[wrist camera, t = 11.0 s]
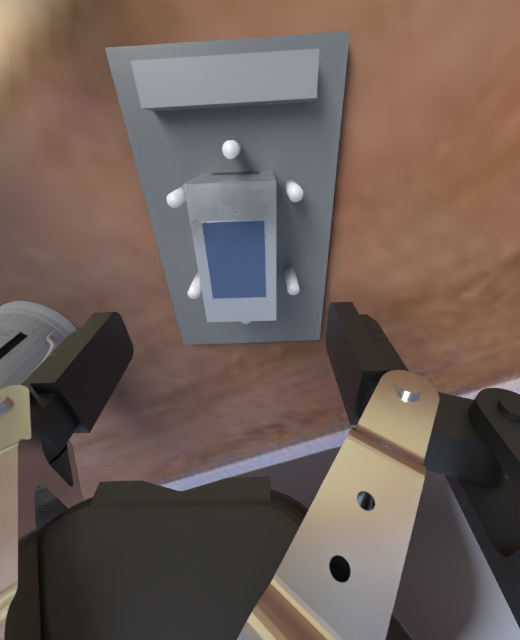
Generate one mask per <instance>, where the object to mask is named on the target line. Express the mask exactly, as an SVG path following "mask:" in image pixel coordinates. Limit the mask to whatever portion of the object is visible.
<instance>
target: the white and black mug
mask: <svg viewBox="0 0 520 640" xmlns="http://www.w3.org/2000/svg"><path fill="white" fill-rule="evenodd" d="M76 330H77V329H76V327H75V326H74V325H73V324H72V323H71V322H70V321H69V320H68V319H67V318H65V317H64V316H63V315H61V314H60V313H58V312H57V311H55V310H53V309H51V308H49V307H46V306H44V305H41V304H38V303H34V302H28V301H13V302H8V303H6V304H4V305H2V306H1V307H0V389H2V388H4V387H8V386H13V385H21V384H22V383H23V382H24V381H25V380H26V379H27V378H28V377H29V376H30V375H31V374H32V373H33V372H34V371H35V370H36V368H37V367H38V366H39V365H40V364H41V363H42V362H43V361H44V360H45V359H46V358H47V357H48V356H49V355H51V353H52V352H53V351H54V350H55V349H56V348H57V347H59V344H60V343H61V342H62V341H63V340H64V339H65V338H66V337H67V336H68V335H69V334H71V333H73V332H74V331H76Z"/></svg>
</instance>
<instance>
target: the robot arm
mask: <svg viewBox="0 0 520 640" xmlns="http://www.w3.org/2000/svg"><path fill="white" fill-rule="evenodd" d="M326 348H327V353H328V356H329V359H330V362H331V365H332V368H333V372H334V375H335V378H336V381H337V384H338V387H339V390H340V393H341V397H342V400H343V403H344V406H345V409H346V412H347V415H348V419H349V422H350V425H355V424H357V426H356V428H352V429H351V430H350V432H349V434H348V435H347V437H346V439H345V441H344V443H343V445H342V447H341V449H340V451H339V453H338V455H337V457H336V458H335V460H334V462H333V464H332V466H331V468H330V470H329V472H328V474H327V476H326V478H325V480H324V481H323V483H322V486H321V487H320V489H319V491H318V493H317V495H316V497H315V499H314V501H313V503H312V504H311V506H310V508H309V509H308V508H307V507H305V506H304V505H302V504H301V503H300V502H298V501H297V500H295V499H293V498H292V497H290V496H288V495H285V494H283V493H281V492H278V491H274V490H271V488H270V477H245V478H226V479H223V480H219V481H216V482H213V483H210V484H206V485H203V486H200V487H196V488H193V489H190V490H187V491H176V490H173V489H169V488H166V487H162V486H159V485H155V484H152V483H148V482H145V481H110V482H100V483H99V485H98V488H97V490H96V492H95V494H94V496H93V497H92V498H89V499H87V500H84V498H83V495H82V492H81V487H80V482H79V477H78V471H77V466H76V461H75V455H74V450H73V446H72V443H71V442H70V441H69V439H70V437H71V436H72V434H73V433H90V431H91V429H92V428H93V426H94V424H95V422H96V421H97V419H98V417H99V415H100V414H101V412H102V410H103V408H104V407H105V405H106V403H107V401H108V400H109V398H110V396H111V394H112V393H113V391H114V389H115V387H116V386H117V384H118V382H119V380H120V379H121V377H122V375H123V373H124V372H125V370H126V368H127V366H128V365H129V363H130V361H131V359H132V356H133V344H132V342H131V339H130V337H129V334H128V332H127V329H126V327H125V325H124V322H123V320H122V317H121V316H120V314H119V313H117V312H106V313H95V314H93V315H92V316H91V317H90V318H89V319H88V320H87V321H86V323H85V324H84V325H83V326H82V327H80V328H79V329H77V330H76V331H74V332H73V333H71V334H69V335H68V336H67V337H66V338H65V339H64V340H63V341H62V342H61V343H60V344H59V347H57V348H56V349H55V350H54V351H53V352H52V353H51V355H49V356H48V357H47V358H46V359H45V360H44V361H43V362H42V363H41V364H40V365H39V366H38V367H37V368H36V370H35V371H34V372H33V373H32V374H31V375H30V376H29V377H28V378H27V379H26V380H25V381H24V382H23V383H22V384H21V385H13V386H8V387H4V388H2V389H0V640H414V638H413V637H412V636H411V635H410V633H409V632H408V631H407V630H406V628H405V627H404V626H403V625H402V623H401V622H400V621H399V619H398V618H397V617H396V616H395V614H394V613H393V612H392V611H393V607H394V603H395V598H396V594H397V590H398V586H399V581H400V578H401V574H402V569H403V566H404V561H405V557H406V553H407V549H408V545H409V541H410V537H411V532H412V528H413V524H414V520H415V516H416V512H417V508H418V504H419V499H420V495H421V491H422V487H423V483H424V478H425V473H426V470H430V471H433V472H437V473H440V474H444V475H445V476H446V479H447V481H448V482H449V485H450V487H451V489H452V491H453V493H454V495H455V497H456V499H457V501H458V503H459V505H460V507H461V509H462V511H463V513H464V515H465V517H466V519H467V521H468V524H469V526H470V528H471V530H472V532H473V534H474V536H475V538H476V540H477V542H478V544H479V546H480V548H481V550H482V552H483V554H484V556H485V558H486V560H487V562H488V564H489V566H490V568H491V571H492V572H493V575H494V576H495V579H496V581H497V583H498V585H499V587H500V589H501V591H502V593H503V595H504V597H505V599H506V601H507V603H508V605H509V607H510V609H511V611H512V613H513V615H514V618H515V620H516V622H517V624H518V626H519V628H520V394H517V393H515V392H512V391H509V390H505V389H500V388H487V389H484V390H481V391H480V392H479V393H478V395H477V396H476V398H475V400H472V399H467V398H462V397H458V396H453V395H448V394H443V393H440V392H438V391H437V390H436V388H435V387H434V386H433V385H432V383H430V382H429V381H428V380H427V379H425V378H424V377H422V376H420V375H418V374H416V373H413V372H410V371H408V369H407V368H406V366H405V365H404V363H403V362H402V360H401V358H400V357H399V355H398V354H397V352H396V351H395V349H394V347H393V346H392V344H391V343H390V342H389V341H388V338H387V336H386V335H385V334H384V333H383V330H382V329H381V327H380V326H379V324H378V322H376V321H375V320H374V319H372V318H371V317H369V316H368V315H367V314H364V315H359V314H358V312H357V310H356V308H355V307H354V305H353V303H352V302H335V303H330V305H329V312H328V321H327V330H326Z"/></svg>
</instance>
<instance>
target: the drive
mask: <svg viewBox="0 0 520 640" xmlns="http://www.w3.org/2000/svg"><path fill="white" fill-rule="evenodd" d="M183 185H184V191H185V197H186V203H187V208H188V214H189V220H190V226H191V232H192V237H193V243H194V249H195V255H196V260H197V266H198V272H199V278H200V283H201V289H202V295H203V301H204V307H205V312H206V318H207V322H238V321H275V320H276V178H275V176H274V173H273V171H244V172H217V173H202V174H200V175H198V176H197V177H195V178H193V179H191V180H190V181H188V182H186V183H185V184H183Z"/></svg>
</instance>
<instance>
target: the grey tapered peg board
mask: <svg viewBox="0 0 520 640" xmlns="http://www.w3.org/2000/svg"><path fill="white" fill-rule="evenodd" d="M349 37H350V31H348V32H333V33H318V34H303V35H288V36H273V37H257V38H242V39H227V40H212V41H197V42H182V43H167V44H152V45H137V46H122V47H107V48H105V51H106V55H107V58H108V62H109V66H110V70H111V74H112V77H113V81H114V85H115V89H116V92H117V96H118V100H119V104H120V108H121V111H122V115H123V119H124V123H125V126H126V130H127V134H128V138H129V141H130V145H131V149H132V153H133V157H134V160H135V164H136V168H137V172H138V175H139V179H140V183H141V187H142V191H143V194H144V198H145V202H146V206H147V209H148V213H149V217H150V221H151V225H152V228H153V232H154V236H155V240H156V243H157V247H158V251H159V255H160V258H161V262H162V266H163V270H164V274H165V277H166V281H167V285H168V289H169V292H170V296H171V300H172V304H173V308H174V311H175V315H176V319H177V323H178V326H179V330H180V334H181V338H182V342H183V345H198V344H225V343H252V342H280V341H307V340H320V333H321V322H322V312H323V302H324V292H325V282H326V271H327V261H328V251H329V241H330V231H331V221H332V210H333V200H334V190H335V180H336V170H337V160H338V149H339V139H340V129H341V119H342V109H343V98H344V88H345V78H346V68H347V58H348V48H349ZM244 171H273V173H274V176H275V178H276V320H275V321H238V322H207V318H206V312H205V307H204V301H203V295H202V289H201V283H200V278H199V272H198V266H197V260H196V255H195V249H194V243H193V237H192V232H191V226H190V220H189V214H188V208H187V203H186V197H185V191H184V185H183V184H185V183H186V182H188V181H190V180H191V179H193V178H195V177H197V176H198V175H200V174H202V173H217V172H244Z"/></svg>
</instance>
